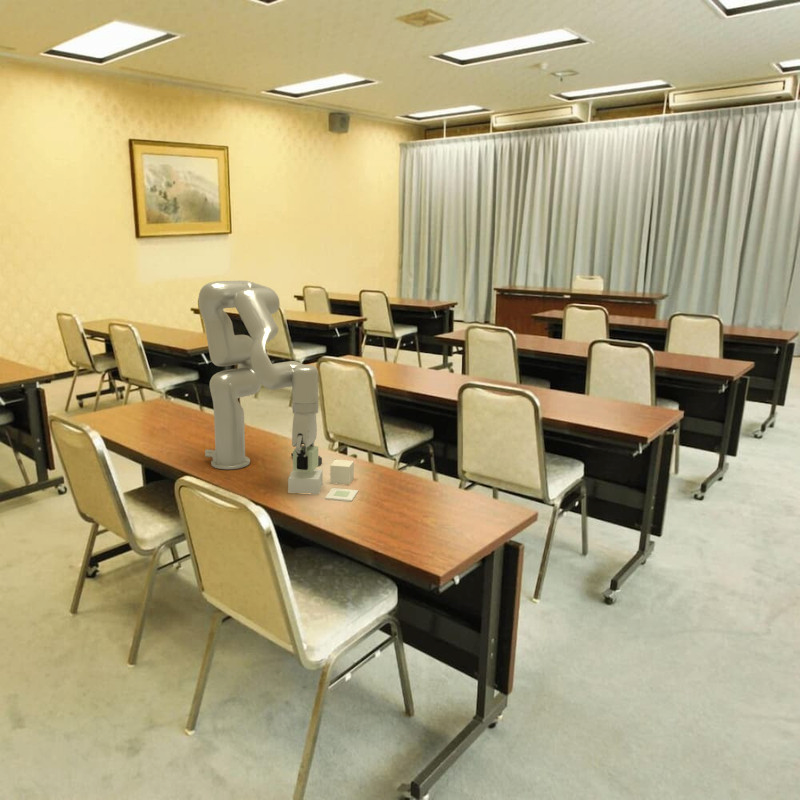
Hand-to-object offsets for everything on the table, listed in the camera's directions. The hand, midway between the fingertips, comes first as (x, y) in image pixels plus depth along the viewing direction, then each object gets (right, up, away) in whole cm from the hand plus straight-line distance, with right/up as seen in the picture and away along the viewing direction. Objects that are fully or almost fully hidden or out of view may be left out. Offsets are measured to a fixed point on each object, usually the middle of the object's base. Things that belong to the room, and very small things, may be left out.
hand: (305, 465), depth 196 cm
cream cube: (+10, -6, +9) cm, 15 cm away
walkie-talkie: (-3, -3, +24) cm, 24 cm away
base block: (0, -8, +2) cm, 8 cm away
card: (+11, -9, -3) cm, 14 cm away
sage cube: (0, -1, 0) cm, 1 cm away
